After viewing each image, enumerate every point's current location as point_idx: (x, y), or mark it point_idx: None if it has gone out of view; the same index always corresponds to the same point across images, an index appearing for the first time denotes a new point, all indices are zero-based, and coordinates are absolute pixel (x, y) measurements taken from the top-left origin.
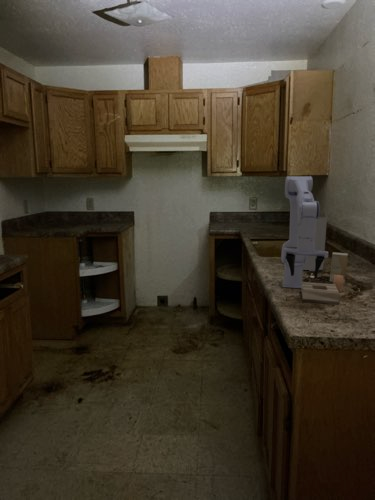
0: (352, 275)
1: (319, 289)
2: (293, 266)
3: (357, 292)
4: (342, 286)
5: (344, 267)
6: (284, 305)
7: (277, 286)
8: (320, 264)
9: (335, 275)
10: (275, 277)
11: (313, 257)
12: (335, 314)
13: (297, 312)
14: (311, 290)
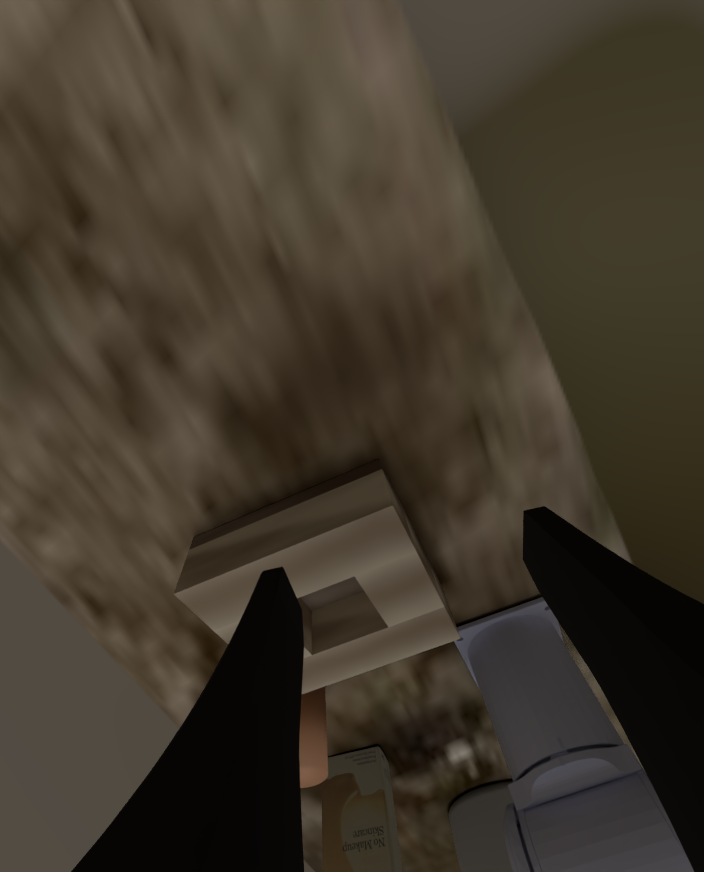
0: None
1: (314, 588)
2: (598, 633)
3: None
4: None
5: (330, 853)
6: (457, 310)
7: None
8: (130, 804)
9: (319, 774)
10: None
11: (501, 870)
12: (93, 359)
13: (318, 209)
14: (348, 543)
